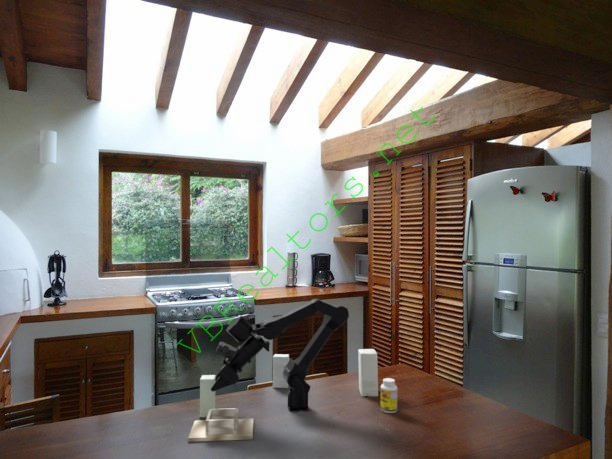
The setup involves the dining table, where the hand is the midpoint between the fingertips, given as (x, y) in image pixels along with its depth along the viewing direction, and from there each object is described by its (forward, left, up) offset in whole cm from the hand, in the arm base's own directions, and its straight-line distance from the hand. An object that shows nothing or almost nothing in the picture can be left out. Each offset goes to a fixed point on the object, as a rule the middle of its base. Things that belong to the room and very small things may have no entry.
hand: (213, 385), depth 140 cm
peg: (+2, 0, -9) cm, 9 cm away
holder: (-4, +13, -9) cm, 16 cm away
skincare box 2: (-55, -15, -9) cm, 58 cm away
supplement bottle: (-58, +2, -9) cm, 59 cm away
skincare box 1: (-23, -25, -9) cm, 35 cm away
